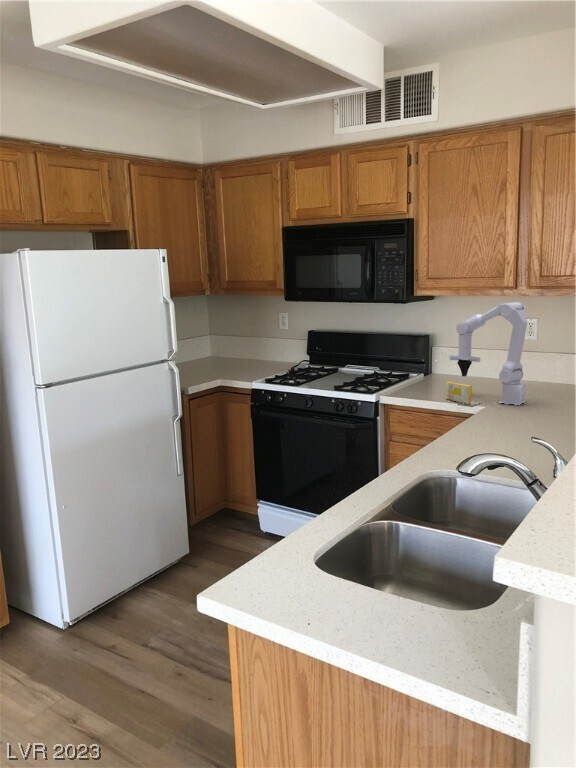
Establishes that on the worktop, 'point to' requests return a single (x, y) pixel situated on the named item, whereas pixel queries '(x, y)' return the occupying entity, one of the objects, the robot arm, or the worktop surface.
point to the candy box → (459, 392)
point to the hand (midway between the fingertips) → (464, 376)
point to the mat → (467, 404)
